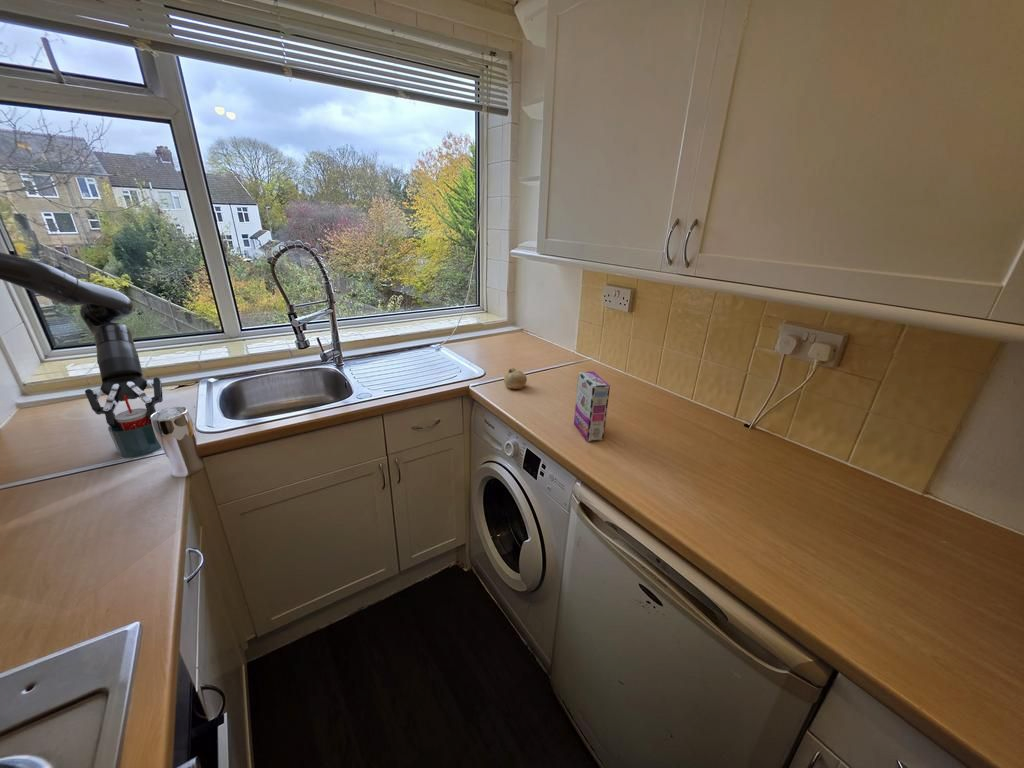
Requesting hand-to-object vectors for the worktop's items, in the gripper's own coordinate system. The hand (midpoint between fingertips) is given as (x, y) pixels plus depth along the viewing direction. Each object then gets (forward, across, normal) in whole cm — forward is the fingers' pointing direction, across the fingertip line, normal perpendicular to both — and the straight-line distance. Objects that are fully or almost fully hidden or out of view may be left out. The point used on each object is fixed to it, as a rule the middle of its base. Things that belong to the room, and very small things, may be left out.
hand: (133, 422), depth 98 cm
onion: (+22, -101, +9) cm, 104 cm away
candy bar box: (+48, -98, +35) cm, 114 cm away
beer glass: (+17, -8, +4) cm, 19 cm away
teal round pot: (+5, 0, -8) cm, 9 cm away
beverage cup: (+4, 0, -6) cm, 8 cm away
